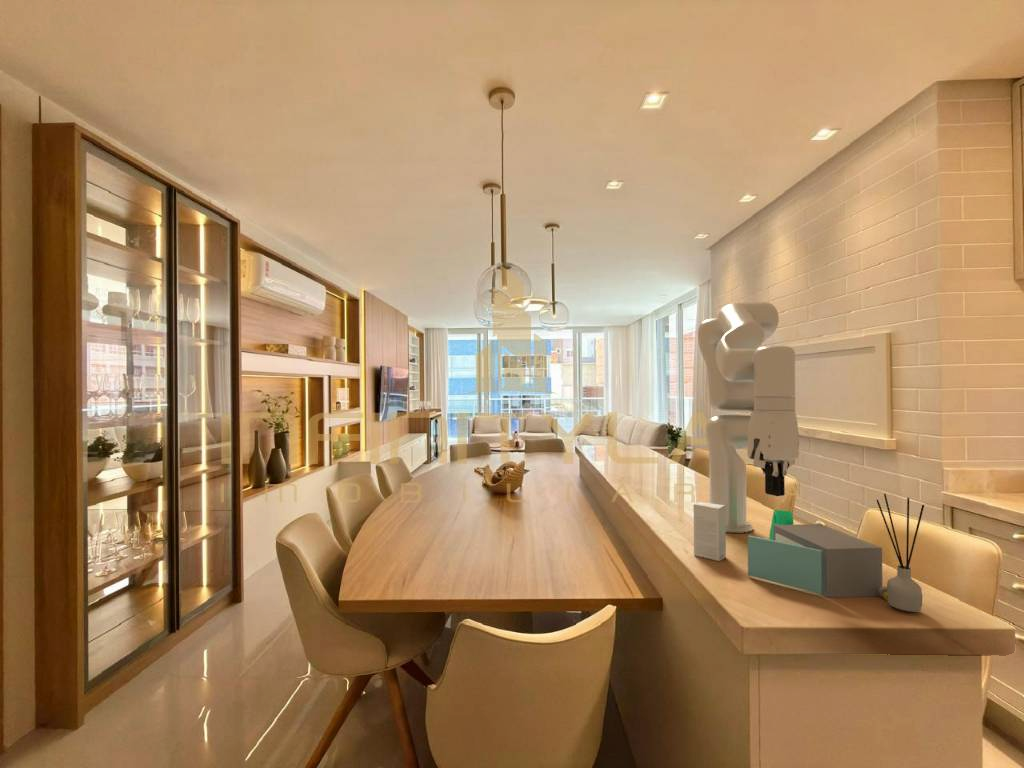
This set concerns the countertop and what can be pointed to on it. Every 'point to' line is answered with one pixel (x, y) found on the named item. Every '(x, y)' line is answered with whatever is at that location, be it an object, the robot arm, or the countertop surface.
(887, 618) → the countertop surface
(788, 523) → the camera mount
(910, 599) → the reed diffuser
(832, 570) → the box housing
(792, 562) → the side door
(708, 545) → the skincare box
